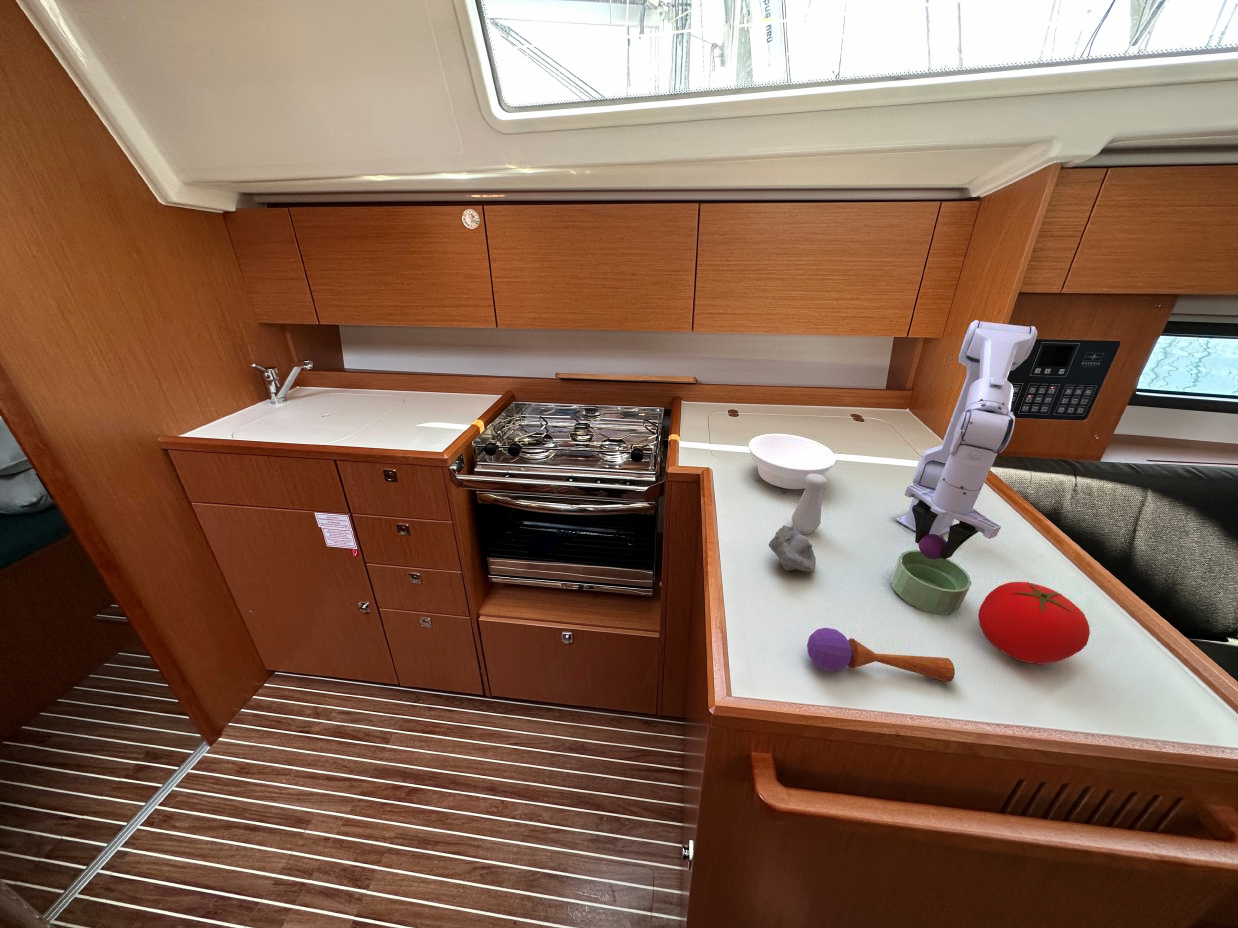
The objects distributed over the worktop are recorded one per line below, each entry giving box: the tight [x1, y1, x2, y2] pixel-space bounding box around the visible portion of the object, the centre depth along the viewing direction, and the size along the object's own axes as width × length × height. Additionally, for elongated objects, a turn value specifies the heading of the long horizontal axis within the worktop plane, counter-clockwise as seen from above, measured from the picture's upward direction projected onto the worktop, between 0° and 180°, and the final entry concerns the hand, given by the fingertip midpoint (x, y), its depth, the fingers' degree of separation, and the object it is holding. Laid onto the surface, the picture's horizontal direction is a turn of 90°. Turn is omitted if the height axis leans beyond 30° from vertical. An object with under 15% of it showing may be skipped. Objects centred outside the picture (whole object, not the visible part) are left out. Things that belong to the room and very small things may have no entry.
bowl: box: [748, 433, 837, 490], centre depth 120 cm, size 21×21×8 cm
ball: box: [918, 534, 947, 559], centre depth 83 cm, size 4×4×4 cm
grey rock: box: [768, 524, 817, 573], centre depth 89 cm, size 11×9×8 cm
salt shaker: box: [791, 473, 828, 535], centre depth 99 cm, size 6×6×13 cm
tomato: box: [978, 581, 1091, 665], centre depth 72 cm, size 12×13×11 cm
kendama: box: [806, 627, 956, 683], centre depth 69 cm, size 6×6×20 cm
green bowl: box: [890, 549, 972, 615], centre depth 84 cm, size 11×11×6 cm
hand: (932, 548), depth 83 cm, fingers closed on ball, 4 cm apart
